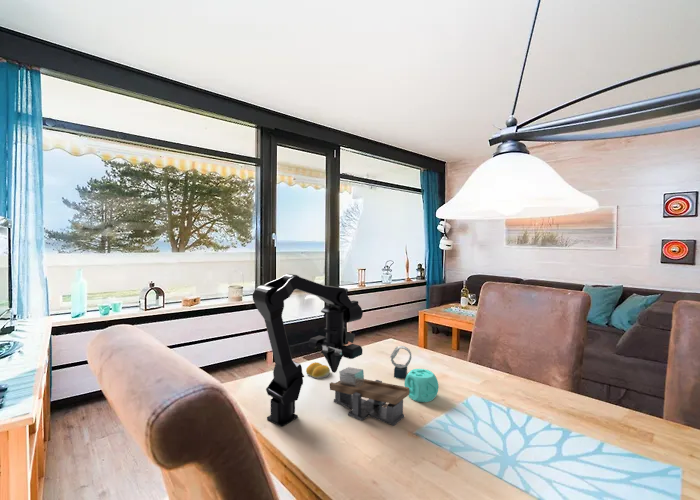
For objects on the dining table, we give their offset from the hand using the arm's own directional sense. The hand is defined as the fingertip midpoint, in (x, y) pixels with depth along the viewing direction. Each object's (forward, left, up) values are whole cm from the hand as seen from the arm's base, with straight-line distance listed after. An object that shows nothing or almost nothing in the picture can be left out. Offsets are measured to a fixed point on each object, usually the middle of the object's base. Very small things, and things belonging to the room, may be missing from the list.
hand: (334, 372), depth 114 cm
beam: (0, -14, -2) cm, 14 cm away
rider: (0, -8, -2) cm, 8 cm away
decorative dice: (+18, -23, -8) cm, 30 cm away
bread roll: (+10, +17, -8) cm, 21 cm away
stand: (0, -14, -8) cm, 16 cm away
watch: (+29, -9, -8) cm, 31 cm away
